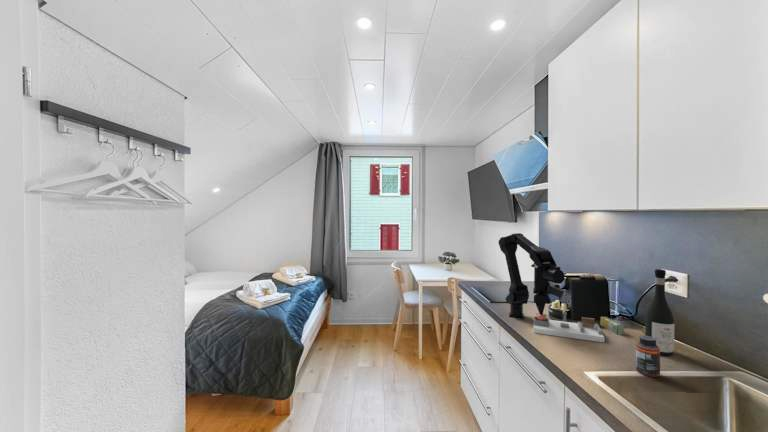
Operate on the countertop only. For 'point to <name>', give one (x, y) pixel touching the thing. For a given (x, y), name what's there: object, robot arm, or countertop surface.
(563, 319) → the toggle lever
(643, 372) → the supplement bottle
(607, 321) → the medication box
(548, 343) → the countertop surface
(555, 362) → the countertop surface
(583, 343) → the countertop surface
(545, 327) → the control panel
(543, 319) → the push button
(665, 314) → the wine bottle
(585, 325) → the paddle
